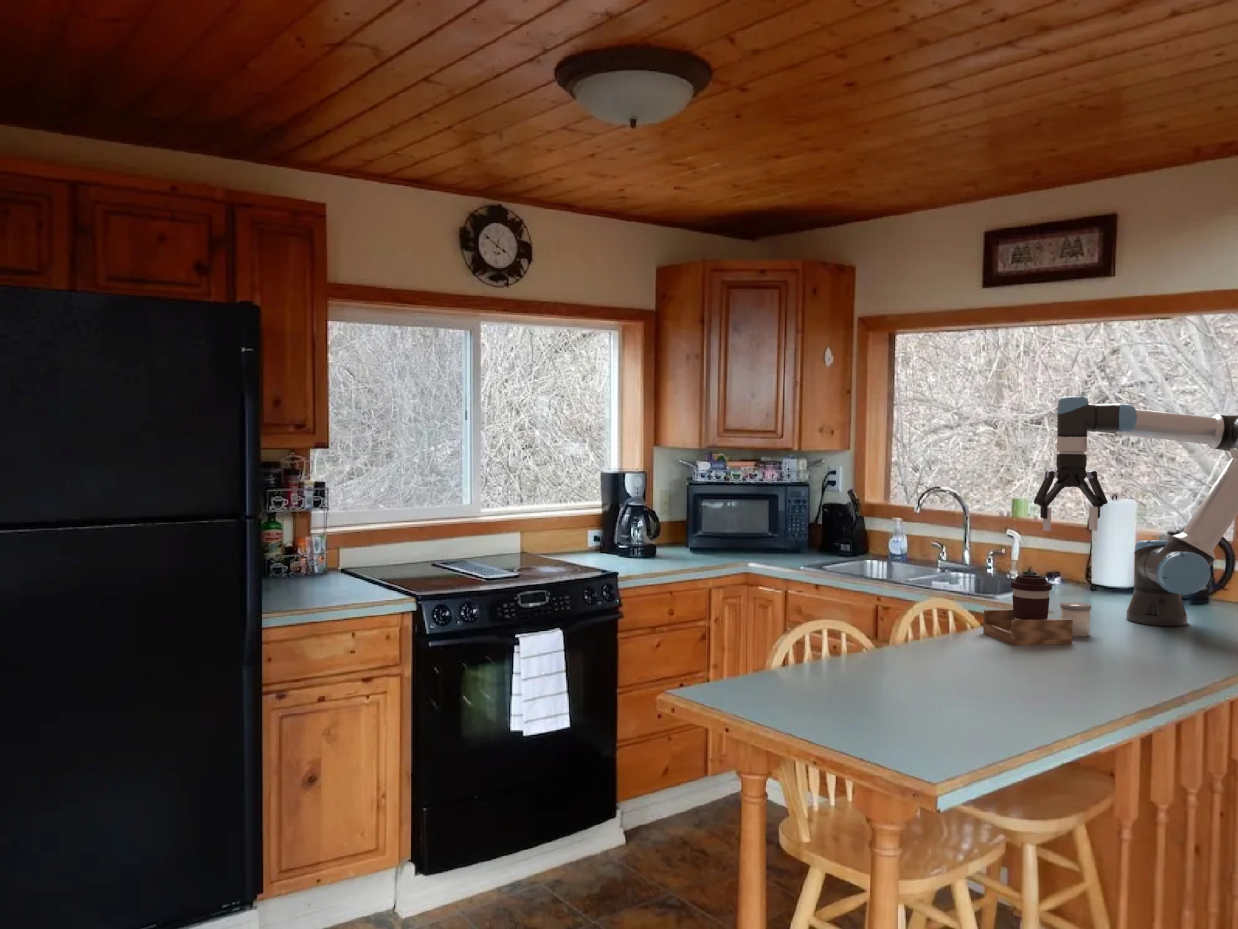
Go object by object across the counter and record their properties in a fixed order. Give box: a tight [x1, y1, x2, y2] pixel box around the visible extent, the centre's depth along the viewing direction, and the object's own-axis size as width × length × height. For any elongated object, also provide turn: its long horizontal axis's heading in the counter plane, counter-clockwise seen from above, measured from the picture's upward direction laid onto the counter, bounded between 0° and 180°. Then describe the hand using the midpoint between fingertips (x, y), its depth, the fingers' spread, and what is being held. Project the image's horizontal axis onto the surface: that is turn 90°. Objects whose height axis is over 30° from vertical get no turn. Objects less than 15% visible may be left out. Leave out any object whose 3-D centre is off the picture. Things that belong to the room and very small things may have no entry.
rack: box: [982, 608, 1073, 646], centre depth 253 cm, size 16×15×6 cm
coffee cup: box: [1010, 574, 1053, 620], centre depth 253 cm, size 10×10×15 cm
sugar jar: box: [1059, 601, 1092, 637], centre depth 259 cm, size 8×8×8 cm
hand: (1069, 530), depth 266 cm, fingers open, 13 cm apart
